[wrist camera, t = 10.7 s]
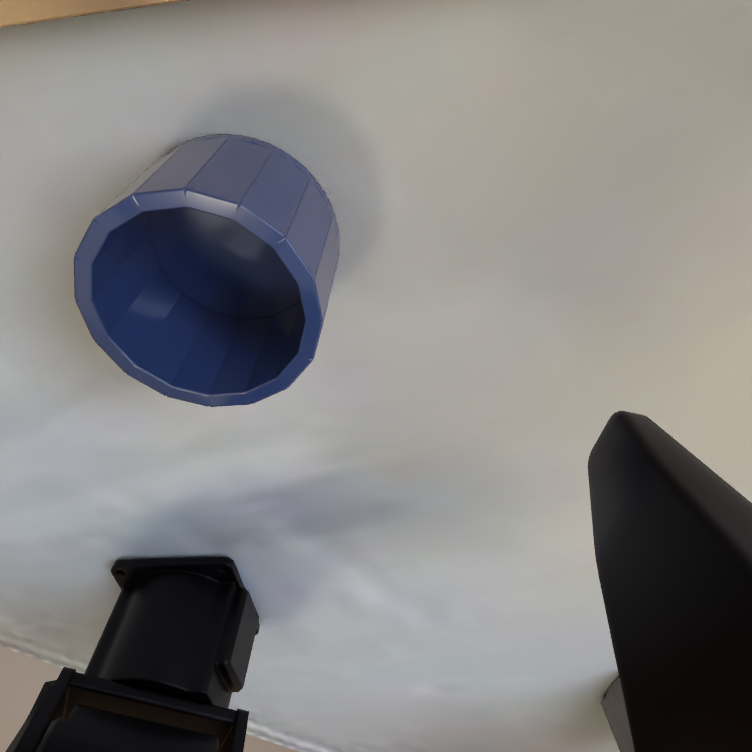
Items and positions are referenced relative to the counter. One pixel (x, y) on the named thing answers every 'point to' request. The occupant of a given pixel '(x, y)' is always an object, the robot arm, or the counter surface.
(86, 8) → the bamboo board
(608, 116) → the counter surface
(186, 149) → the holder cup
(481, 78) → the counter surface
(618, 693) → the coffeepot
